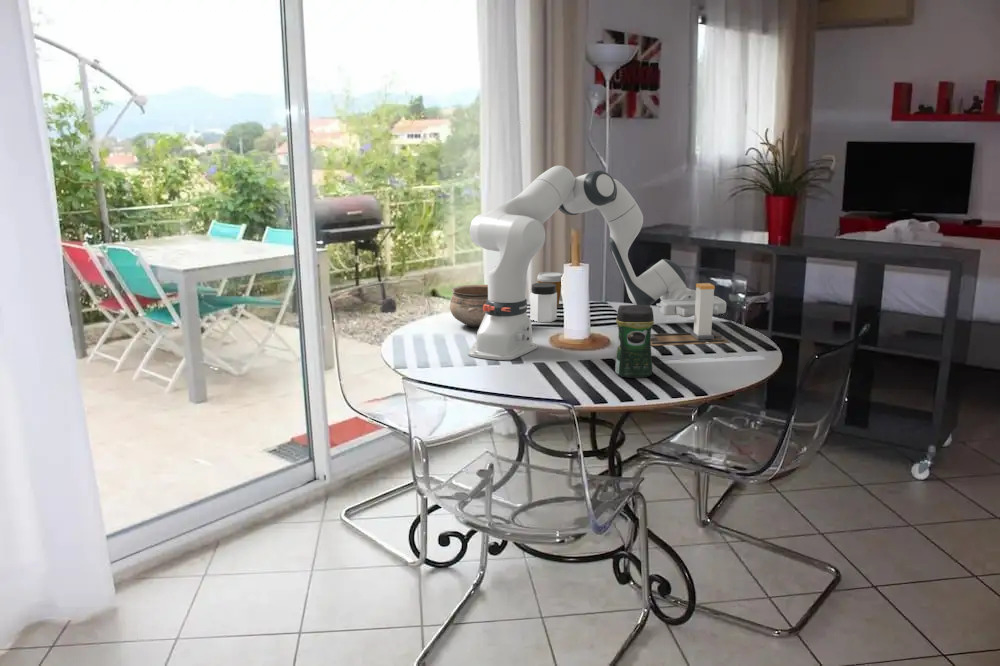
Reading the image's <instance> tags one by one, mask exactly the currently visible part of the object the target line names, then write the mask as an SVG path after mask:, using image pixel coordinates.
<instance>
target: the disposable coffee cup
mask: <svg viewBox="0 0 1000 666" xmlns="http://www.w3.org/2000/svg"><path fill="white" fill-rule="evenodd" d="M562 276H563V273H561V272H553V271H544V272H539V273H538V275H537V277H536V279H537V281H538V282H537V283H552V284H555V285H556V292H557V307H558V308H559V305H560V298H561V290H562V285H561V277H562Z"/></svg>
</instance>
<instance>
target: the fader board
mask: <svg viewBox="0 0 1000 666" xmlns="http://www.w3.org/2000/svg"><path fill="white" fill-rule="evenodd" d="M711 334H712V335H714V339H696V338H695V337H694V336H692V335H691V332H678V333H677V332H676V333H673V332H672V333H651V347H654V346H658V347H659V346H678V345H679V346H680V345H681V346H682V345H685V346H686V345H704V344H705V345H706V344H712V345H713V344H731V343H732V342H731V341H729V340H728V339H726V338H724V337H723V335H722V334H720V333H719V332H715V331H711Z"/></svg>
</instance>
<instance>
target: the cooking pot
mask: <svg viewBox="0 0 1000 666" xmlns="http://www.w3.org/2000/svg"><path fill="white" fill-rule="evenodd" d="M451 292H453V293H452V296H451V299H450V303H449V310H450V314H451V315H452V317H453V318H454V319H456V320H457V321H459V322H460V323H462V324H464V325H466V326H467V327H469V328H471V329H477V330H478V329H479V327H480V325H481V322H482V320H483V318H484V316H485V314H486V312H485V311H483V305H484V304H486V301H487V299H488V284H466V285H459V286H456V287H453V288H452V289H451Z"/></svg>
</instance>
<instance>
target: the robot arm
mask: <svg viewBox="0 0 1000 666" xmlns="http://www.w3.org/2000/svg"><path fill="white" fill-rule="evenodd" d="M595 209H597V210H598V211H599V212H600V214H601V215H602V218H603V219H604V221H606V224H607V225H608V226H607V227H608V228H609V238H608V240H607V244H608V248H609V250H610V253H611V255H612V257H613V260H614V263H615V265H616V267H617V270H618V272H619V274H620V276H621V279H622V281H623V284H624V286H625V289H626V293H627V295H628V298H629V299H630V301H631V302H632V305H649V306H650V307H651V306H652V305H653V304H654V303H655V302H657V300H658V299H660V302H658V303H656V304H655V306H656V307H657V308H658V309H659V311H660V313H661V314H662V315H664V316H679V317H682V318H691V317H693V316H695V300H696V289H690V288H688V287H687V277H686V275H685V272H684V271H683V270H682V268H681V267H680V265H678V264H677V263H676V262H674V261H673V260H670V259H666V258H663V259H662V258H661V260H659V261H658V262H656V263H655V264H654V265H652V266H650V268H648V269H647V270H646V271H644V272H642V273H641V274H640V275H639V276H637V275H636V274H635V271H634V270H633V267H632V264H631V263H630V260H629V255H628V254H629V250H630V248H631V246H632V244H633V243H634V241H635V240H636V237H638V235H639V233H640V232H641V230H642V227H643V223H644V215H643V212H642V210H641V208H640V207H639V205H638V203H637V201H636V200H635V199H634V197H633V196H632V195H631V193H630V192H629V191H628V190H627V189H626V187H625V186H624V185H623V184H622V183H621V182H620V181H619V180H617V179H614V178H613V177H612V176H611V174H610V173H608V172H607V171H605V170H592V171H590V172H588V173H585V174H582V175H578V176H574V174H573V172H572V171H571V170H570V169H569V168H568V167H566V166H564V165H555V166H552V167H551V168H549V169H547V170H545V171H544V172H543V173H541V174H540V175H539V176H537V177H536V178H535V179H534V180H533V181H532V182H531V183H530V184H529V185H527V186H526V188H524V189H523V190H522V191H521V192H520V193H518V194H517V196H515V197H513V198H511V199H509V200H508V201H506V202H504V203H503V204H501V205H499V206H496V207H494V208H493V209H492V210H490V211H486V212H484V213H479V214H478V215H476V216H475V217H473V219H472V220H471V223H470V226H469V236H470V239H471V241H472V242H473V244H475V245H476V246H478V247H480V248H482V249H485V250H487V251H494V252H499V259H498V262H497V264H496V266H493V267H492V268H491V269H490V270H489V272H488V273H487V285H488V299H487V301H486V304H484V305H483V311H485V312H486V314H485V316H484V318H483V320H482V322H481V325H480V327H479V329H477V332H476V340H475V342H474V343H473V345H472V346H471V348H470V349H469V350H468V352H467V355H468V356H470V357H472V358H473V357H474V358H477V359H478V358H479V359H485V360H499V361H503V360H504V361H509V360H515V359H517V358H519V357H522V356H523V355H526V354H528V353H529V352H532V351H534V350H536V349H538V344H537V343H534V342H533V328H532V327H533V326H532V325H533V324H532V320H530V316H529V315H528V313H527V311H528V299H527V298H526V285H527V284H526V283H527V273H528V268H529V265H530V263H531V261H532V259H533V258H534V256H535V255H536V254H537V253H538V252H539V251H541V250H542V248H543V247H544V244H545V242H546V229H545V227H544V225H543V224H544V223H545V222H547V220H549V218H551V216H552V215H554V213H555V212H556V211H558V210H559V211H560V212H561V213H563V214H564V215H565V216H566V215H567V216H577V215H579V214H582V213H586V212H589V211H592V210H595ZM726 312H727V302H726V301H725V299H723V298H721V297H719V296H716V295H714V300H713V316H714V315H719V314H725V313H726Z"/></svg>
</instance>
